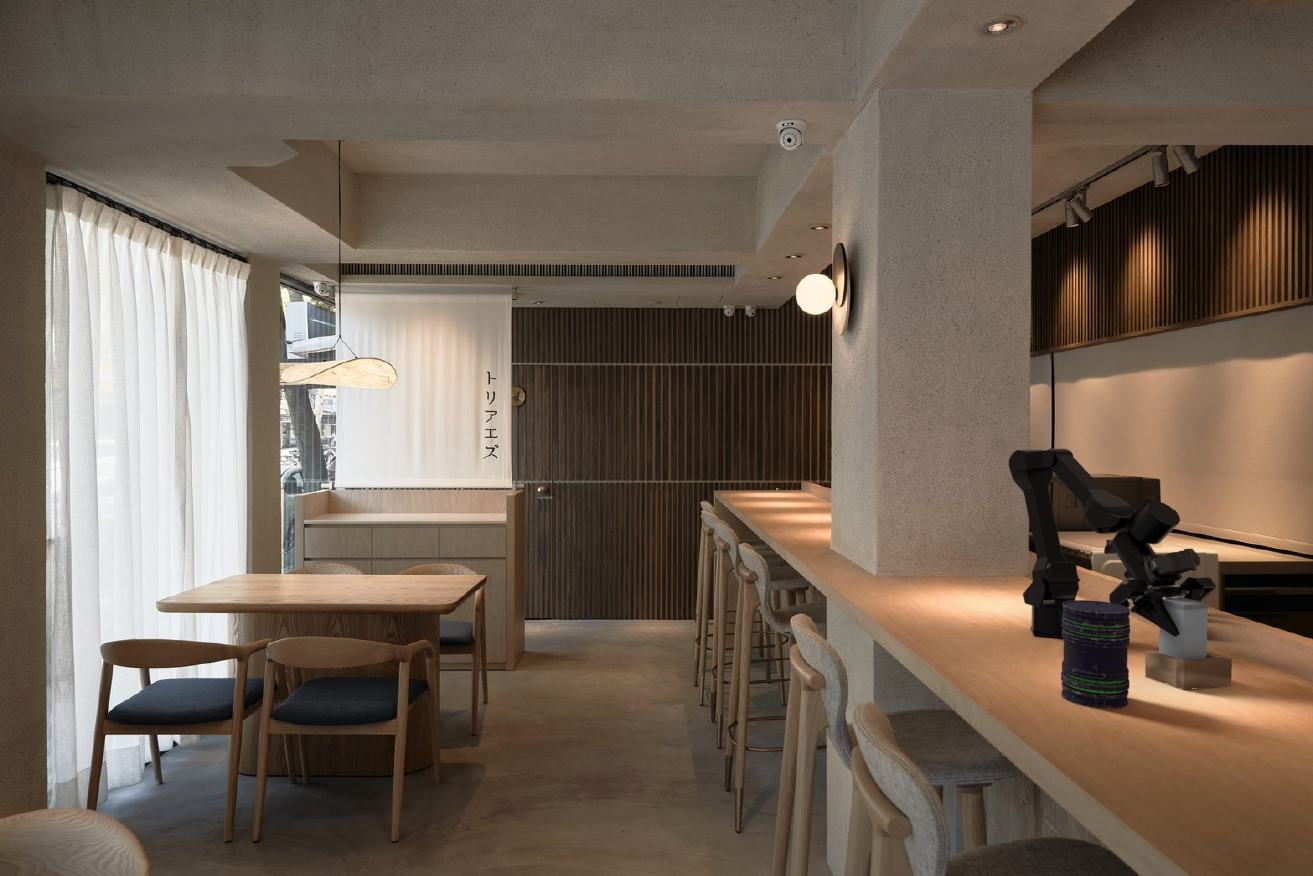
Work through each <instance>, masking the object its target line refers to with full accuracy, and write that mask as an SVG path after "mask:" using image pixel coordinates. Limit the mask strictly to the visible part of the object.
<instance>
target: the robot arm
mask: <svg viewBox="0 0 1313 876" xmlns="http://www.w3.org/2000/svg"><path fill="white" fill-rule="evenodd" d="M1008 467H1009V471H1010V474H1011V477H1012V481H1013V482H1014V483H1015V484H1016V485H1017V487H1018V488H1019V489H1020V490H1021V491H1022V493H1023V496H1024V501H1025V505H1026V510H1027V515H1028V516H1027V517H1028V519H1029V525H1030V530H1031V534H1032V535H1031V536H1032V540H1033V545H1034V550H1035V555H1036V561H1035V563H1034V565H1033V569H1032V571H1031V577H1032V578H1031V579H1032V582H1031V583H1030V584H1029V586H1027V588H1026V589H1025V590H1024V592H1023V593H1022V597H1023V601H1024V604H1025V605H1028V606H1031V626H1030V627H1029V630H1030V631H1031V633H1032V636H1035V637H1045V636H1049V637H1050V638H1060V637H1062V628H1063V627H1062V619H1063V612H1064V609H1063V603H1064V602H1066V601H1073V600H1076V597H1077V595H1078V592H1079V591H1080V585H1079V582H1081V579H1080V577H1079V575H1078V574H1079V573H1078V570H1077V569H1078V568H1077V564H1076V562H1075V561H1068V560H1067V558H1066V557H1065V556H1064V554H1063V552H1062V550H1063V549H1062V545H1061V541H1060V537H1059V533H1058V529H1057V528H1058V526H1057V524H1056V523H1057V522H1056V517H1055V513H1054V509H1053V505H1052V498H1051V495H1050V494H1051V493H1050V490H1049V489H1050V488H1049V487H1050V486H1051V485H1050V484H1051V483H1052V480H1053V478H1054V475H1055V476H1056V477H1057V478H1058V479H1059V481H1061V482H1062V484H1063V485H1064V486H1065V487H1066V488H1067V489H1068V491H1069V492H1070V493H1071V494H1072V495H1073V496H1074V497H1075V498H1076V499H1077V500H1078V501H1079V503H1080V504H1081V506H1082V507H1083V517H1084V518H1085V520H1086V521H1087V523H1088V525H1089V526H1090V528H1091V529H1092V530H1093V532H1095V533H1096V534H1100V535H1102V534H1103V535H1104V534H1106V535H1107V534H1116V535H1114V537H1113V538H1112V539H1110V538H1109V539H1106V541H1105V543H1106V544H1105V546H1104V549H1103V553H1104V554H1105V555H1113V554H1114V555H1117V557H1118V558H1119V560H1120V562H1121V563H1122V565H1123V566H1124V567H1125V569H1126V571H1125V572H1124V573H1123V576H1124V577H1125V578H1126V579H1123V580H1122V581H1121V582H1120V583H1119V584H1118V585H1117V586H1116V587H1115V588H1114V589H1113V590H1112V591H1111V592H1110V593H1109V603H1115V604H1119V605H1123V606H1126V607H1128V608H1129V607H1130V601H1129V600H1130V599H1132V601H1133V604H1134V606H1133V607H1131V608H1129V609H1130V613H1133V614H1137V615H1138V616H1140V617H1142V618H1143V619H1146V620H1147V621H1149V622H1150V623H1153V624H1154V625H1156V626H1157V627H1159V629H1160V628H1162V629H1163V630H1165V631H1166V632H1168V633H1169V634H1171V635H1173V636H1177V635H1179V631H1178V629H1177V627H1176V625H1175V623H1174V621H1173V620H1172V618H1171V616H1170V615H1169V613H1168V611H1167V610H1166V608H1165V606H1164V604H1163V598H1166V597H1170V598H1187V599H1191V600H1196V601H1200V602H1203V600H1204V599H1206V598H1207V596H1209V595H1210V594H1212V592H1214V590H1216V589H1217V585H1216V584H1215V582H1214V581H1213V580H1212V578H1211V577H1209V576H1205V575H1201V576H1188V577H1187V578H1186V579H1185V580H1184V581H1183V582H1182V583H1181V584H1176V582H1178V581H1180V580H1181V579H1182V578H1183V576H1182V574H1183V573H1186V572H1190V571H1192V572H1193V571H1197V567H1198V566H1200V565H1201V557H1200V556H1199V554H1198V553H1197V552H1196V551H1195V550H1194V548H1184V549H1183V550H1178V551H1173V552H1167V553H1166V554H1157V552H1156V551H1155V550H1154V549H1153V547H1152V546H1151V545H1158V544H1160V543H1161V542H1162V541H1163V540H1164V539H1165V538H1166V537H1167V536H1168V535H1169V534H1170V533H1171V532H1172V531H1173V530H1174V529H1175V528H1176V527H1177V526H1178V525H1179V524H1180V522H1181V518H1180V514H1179V513H1178V512H1177V511H1176V509H1174V508H1172V507H1171V506H1169V505H1168V504H1166V503H1165V502H1162V501H1159V499H1158V498H1157V497H1155V496H1152V497H1151V496H1148V497H1145V498H1144V500H1142V503H1141V505H1140V506H1138V508H1137V509H1136V510H1135V509H1134V507H1132V505H1130V504H1129V503H1128V502H1126V501H1125V500H1124V499H1123V498H1121V497H1120V496H1117V495H1115V494H1113V493H1110V492H1108V491H1106V490H1105V489H1104V488H1103V487H1102V486H1101V484H1099V482H1097V480H1096V479H1095V478H1093V476H1092V475H1091V474H1090V473H1089V472H1088V471H1087V470H1086V469H1085V468H1084V467H1083V465H1082V464H1081V463H1080V462H1079V461H1078V460H1077V459H1076V458H1075V457H1074V454H1073V452H1072V451H1071V450H1069V449H1067V448H1048V449H1045V450H1043V449H1017V450H1014V451H1013V452H1012V454H1011V455H1010V456H1009V459H1008ZM1132 579H1133V580H1132Z"/></svg>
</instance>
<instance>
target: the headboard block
mask: <svg viewBox="0 0 1313 876" xmlns="http://www.w3.org/2000/svg"><path fill="white" fill-rule="evenodd" d="M1232 662H1233V660H1232V658H1229V657H1225V656H1222V655H1218V654H1216V653H1212V652H1208V651H1207V658H1205V659H1193V660H1181V659H1178V658H1175V657H1172V656H1169V655H1165V654H1162V653H1159V651H1155V650H1145V663H1144V665H1145V666H1144V667H1145V668H1144V669H1145V671H1144V677H1146V678H1147V679H1148V678H1149V679H1150V678H1151V680H1153V679H1154V680H1153V681H1157V682H1159V683H1162V684H1165V683H1167V684H1169V685H1168V686H1170V685H1172V686H1171V687H1173V686H1174V687H1173V688H1177V689H1179V688H1181V689H1180V690H1182V689H1183V691H1187V690H1186V689H1191V690H1195V689H1194V688H1202V689H1209V688H1208V687H1213V688H1220V687H1221V688H1222V686H1223V687H1232V674H1233V673H1232V672H1233V671H1232V669H1233V668H1232V667H1233V665H1232V664H1233V663H1232ZM1167 684H1166V685H1167ZM1229 685H1230V686H1229ZM1192 688H1193V689H1192Z"/></svg>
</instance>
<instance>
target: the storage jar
mask: <svg viewBox="0 0 1313 876" xmlns="http://www.w3.org/2000/svg"><path fill="white" fill-rule="evenodd" d="M1063 609H1064V612H1063V619H1062V627H1063V628H1062V637H1063V638H1062V639H1063V660H1062V661H1061V672H1060V680H1061V687H1062V690H1061V697H1062V698H1063V699H1064V700H1066V701H1068V702H1070V703H1072V704H1075V705H1079V706H1083V707H1087V708H1093V709H1103V710H1115V709H1116V710H1117V709H1123V708H1126V707H1128V705H1129V698H1128V696H1129V689H1130V679H1129V678H1130V676H1129V674H1130V673H1129V671H1130V670H1129V668H1128V652H1129V651H1128V647H1129V645H1130V641H1131V639H1130V634H1131V623H1130V619H1131V618H1130V615H1131V611H1130V609H1131V608H1128V607H1126V606H1123V605H1119V604H1115V603H1110V601H1109V602H1108V601H1100V600H1089V599H1087V600H1085V599H1083V600H1081V599H1078V600H1077V599H1075V600H1073V601H1066V602H1064V603H1063Z"/></svg>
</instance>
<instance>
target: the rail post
mask: <svg viewBox="0 0 1313 876" xmlns="http://www.w3.org/2000/svg"><path fill="white" fill-rule="evenodd" d="M1163 604H1164V606H1165V608H1166V610H1167V611H1168V613H1169V615H1170V616H1171V618H1172V620H1173V621H1174V623H1175V625H1176V627H1177V629H1178V631H1179V635H1177V636H1173V635H1171V634H1169V633H1168V632H1166V631H1165V630H1163V629H1162V628H1160V627H1159V635H1158V636H1159V638H1158V639H1159V640H1158V644H1159V646H1158V652H1159V653H1162V654H1165V655H1169V656H1172V657H1175V658H1178V659H1181V660H1193V659H1205V658H1207V652H1208V651H1207V650H1208V620H1209V619H1208V615H1209V608H1210V604H1209V603H1207V602H1204V601H1201V602H1200V601H1196V600H1191V599H1187V598H1167V599H1163Z"/></svg>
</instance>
